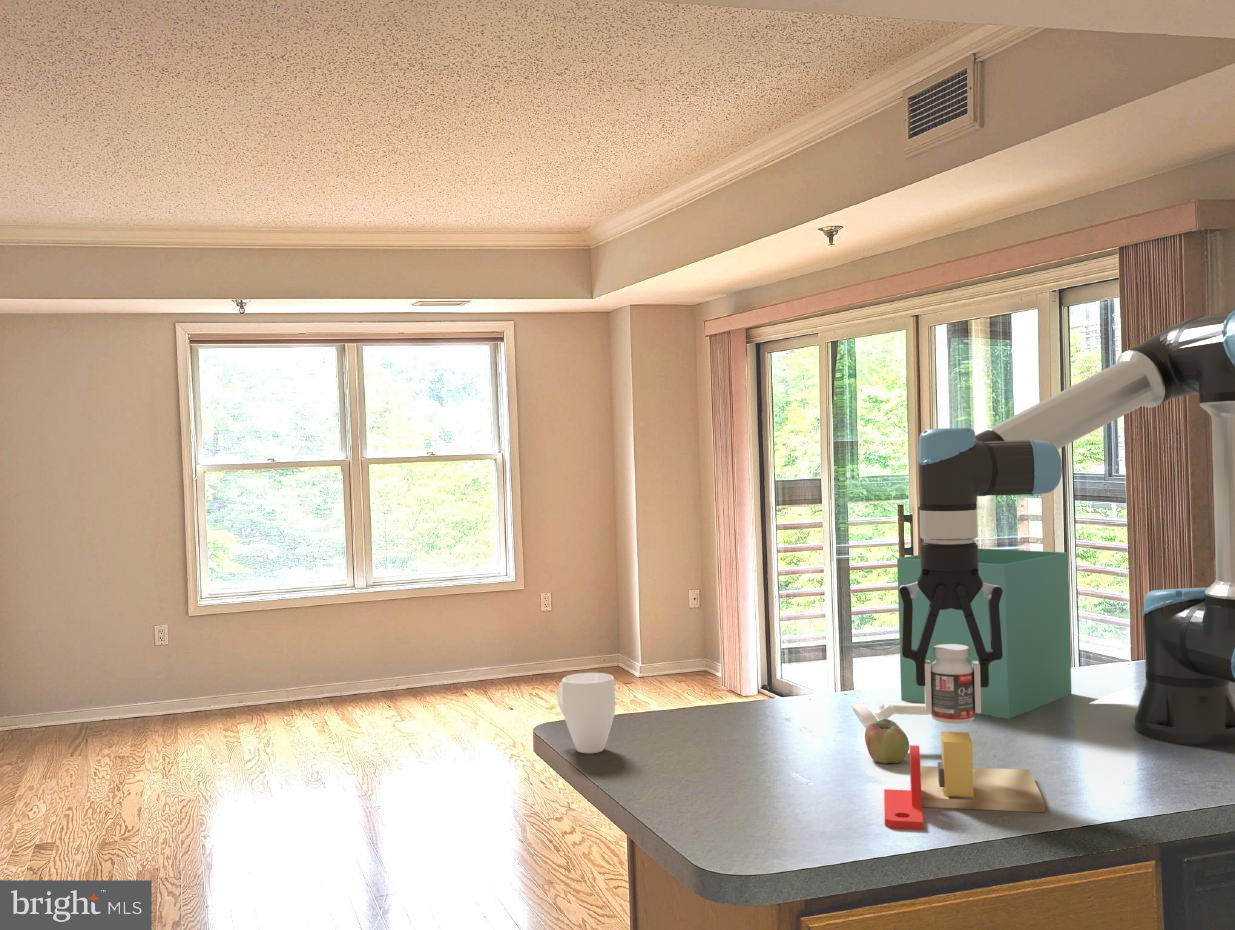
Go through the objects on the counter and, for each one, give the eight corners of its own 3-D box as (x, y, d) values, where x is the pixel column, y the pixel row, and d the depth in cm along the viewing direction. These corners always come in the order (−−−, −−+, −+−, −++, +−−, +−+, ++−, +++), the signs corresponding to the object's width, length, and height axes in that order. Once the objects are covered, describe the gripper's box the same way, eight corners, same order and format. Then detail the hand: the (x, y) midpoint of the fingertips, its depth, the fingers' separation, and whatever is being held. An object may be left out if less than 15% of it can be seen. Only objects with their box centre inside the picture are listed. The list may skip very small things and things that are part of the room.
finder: (968, 732, 142) (936, 731, 143) (972, 742, 137) (938, 741, 138) (969, 784, 142) (937, 783, 143) (973, 797, 138) (940, 795, 138)
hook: (935, 757, 160) (934, 710, 160) (852, 753, 163) (852, 707, 162) (930, 743, 168) (930, 698, 167) (852, 740, 170) (851, 696, 170)
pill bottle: (967, 726, 143) (965, 652, 143) (925, 721, 146) (923, 649, 146) (980, 716, 148) (977, 644, 148) (939, 712, 151) (936, 641, 151)
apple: (876, 750, 164) (875, 712, 164) (919, 762, 158) (918, 722, 158) (849, 758, 161) (848, 719, 161) (892, 770, 154) (891, 729, 154)
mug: (627, 749, 169) (624, 677, 169) (584, 760, 164) (582, 685, 164) (582, 735, 178) (580, 666, 178) (540, 745, 173) (538, 674, 173)
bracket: (884, 797, 143) (882, 738, 143) (919, 799, 142) (918, 739, 142) (884, 829, 131) (883, 764, 131) (923, 831, 130) (921, 766, 130)
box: (967, 680, 211) (963, 547, 210) (1071, 695, 195) (1067, 552, 195) (901, 701, 195) (897, 558, 195) (1009, 720, 180) (1004, 564, 179)
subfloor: (1029, 778, 148) (1029, 769, 148) (1045, 812, 135) (1044, 802, 135) (916, 774, 152) (916, 765, 152) (921, 806, 138) (920, 797, 138)
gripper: (1017, 538, 148) (1021, 705, 149) (878, 539, 153) (882, 701, 153) (1025, 542, 141) (1029, 719, 141) (878, 543, 145) (882, 714, 146)
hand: (952, 709), depth 147 cm, fingers closed on pill bottle, 6 cm apart
